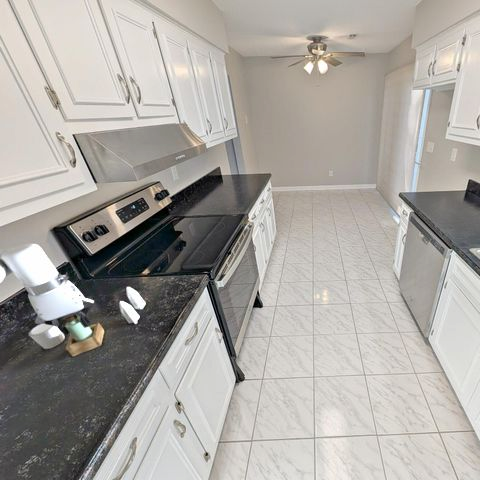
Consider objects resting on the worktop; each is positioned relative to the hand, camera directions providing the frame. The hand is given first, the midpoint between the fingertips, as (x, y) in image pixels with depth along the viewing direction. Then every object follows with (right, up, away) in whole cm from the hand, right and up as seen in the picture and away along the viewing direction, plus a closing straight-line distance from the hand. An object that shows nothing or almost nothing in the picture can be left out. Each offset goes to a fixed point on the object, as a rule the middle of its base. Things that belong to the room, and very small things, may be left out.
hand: (78, 327), depth 83 cm
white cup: (-13, -7, +5) cm, 16 cm away
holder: (+1, -6, +4) cm, 7 cm away
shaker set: (+9, 0, +15) cm, 17 cm away
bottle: (+1, -5, +3) cm, 6 cm away
